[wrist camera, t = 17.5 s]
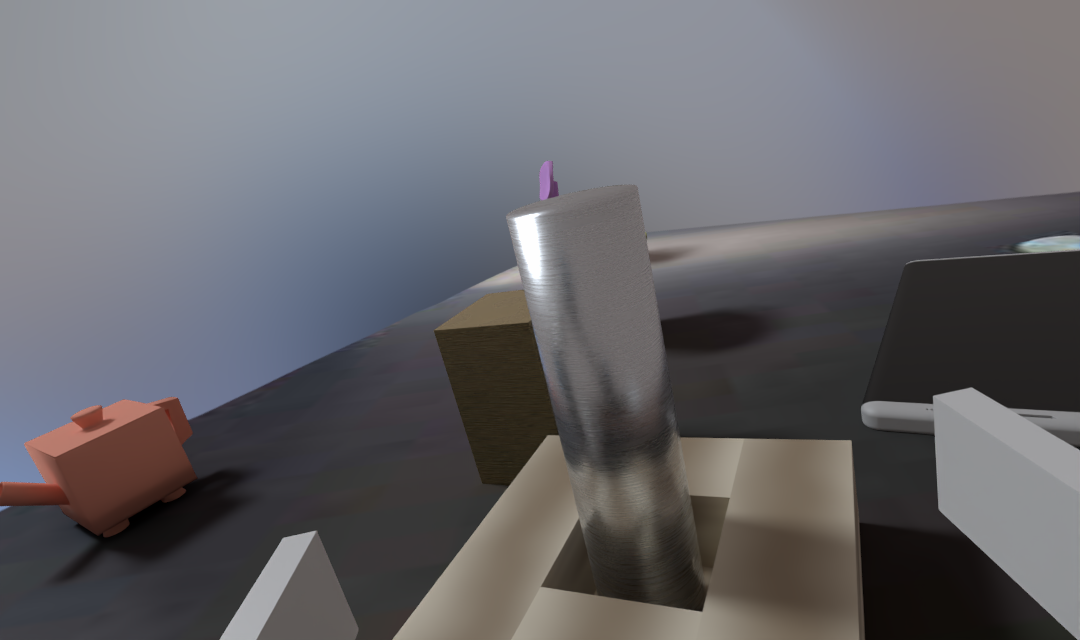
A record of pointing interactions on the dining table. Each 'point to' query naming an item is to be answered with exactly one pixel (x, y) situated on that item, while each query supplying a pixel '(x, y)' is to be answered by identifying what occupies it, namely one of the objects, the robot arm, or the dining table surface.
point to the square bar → (498, 383)
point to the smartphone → (982, 341)
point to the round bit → (611, 391)
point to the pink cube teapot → (109, 464)
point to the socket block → (724, 543)
